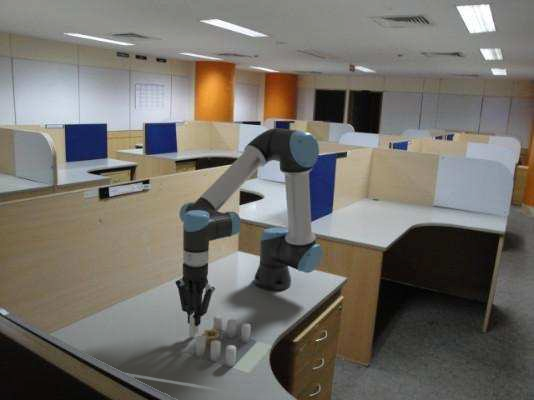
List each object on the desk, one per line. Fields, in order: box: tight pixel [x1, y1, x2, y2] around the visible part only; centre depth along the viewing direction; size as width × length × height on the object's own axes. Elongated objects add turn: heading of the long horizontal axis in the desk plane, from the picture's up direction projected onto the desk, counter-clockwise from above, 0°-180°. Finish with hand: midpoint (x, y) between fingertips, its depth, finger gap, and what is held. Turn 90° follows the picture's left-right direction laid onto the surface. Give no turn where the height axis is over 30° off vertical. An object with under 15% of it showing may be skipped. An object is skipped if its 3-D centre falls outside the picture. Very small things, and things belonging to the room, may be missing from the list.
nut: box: [201, 328, 220, 347], centre depth 136 cm, size 6×5×3 cm
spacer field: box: [184, 315, 273, 374], centre depth 133 cm, size 16×21×6 cm
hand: (193, 333), depth 138 cm, fingers closed
